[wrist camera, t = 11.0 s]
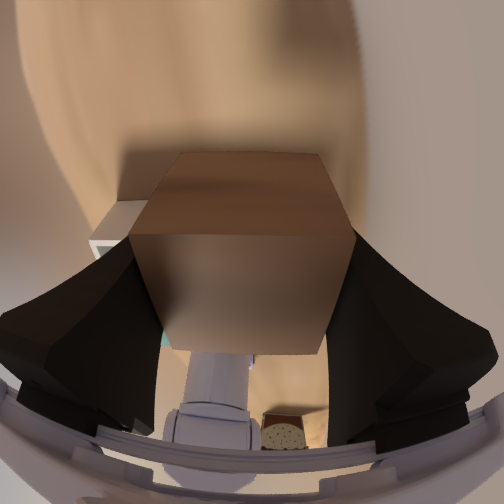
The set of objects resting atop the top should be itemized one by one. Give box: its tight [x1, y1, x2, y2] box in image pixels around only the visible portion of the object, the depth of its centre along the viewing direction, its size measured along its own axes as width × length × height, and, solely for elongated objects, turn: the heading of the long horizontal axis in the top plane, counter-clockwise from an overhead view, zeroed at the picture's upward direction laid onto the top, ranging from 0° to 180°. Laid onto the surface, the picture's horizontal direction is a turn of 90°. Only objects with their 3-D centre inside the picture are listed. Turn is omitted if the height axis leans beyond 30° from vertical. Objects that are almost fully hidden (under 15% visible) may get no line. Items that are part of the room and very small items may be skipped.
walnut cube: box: [128, 151, 356, 355], centre depth 9 cm, size 5×5×5 cm
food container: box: [261, 413, 309, 451], centre depth 52 cm, size 12×6×10 cm, turn 70°
